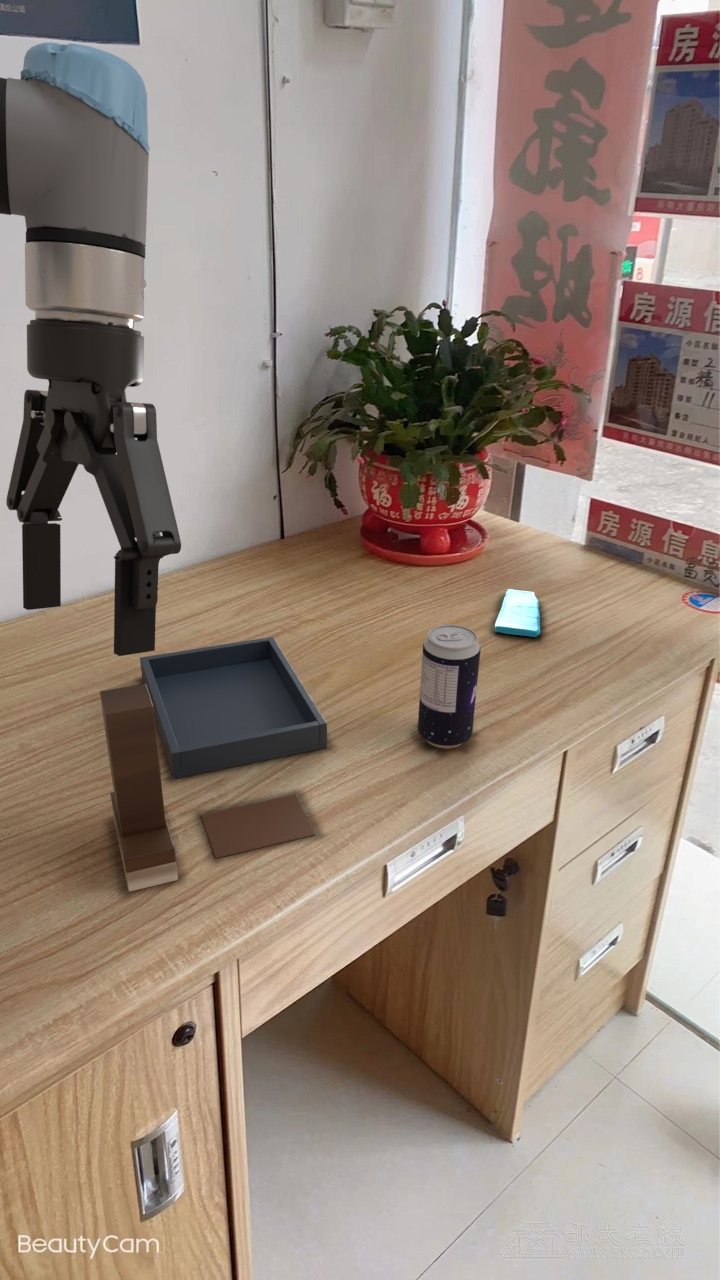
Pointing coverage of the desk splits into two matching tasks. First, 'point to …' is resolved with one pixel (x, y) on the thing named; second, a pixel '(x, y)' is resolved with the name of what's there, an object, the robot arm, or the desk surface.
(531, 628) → the sponge
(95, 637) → the desk surface
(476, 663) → the beverage can
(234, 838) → the stain
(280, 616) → the desk surface
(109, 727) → the brush
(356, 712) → the desk surface
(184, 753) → the tray
